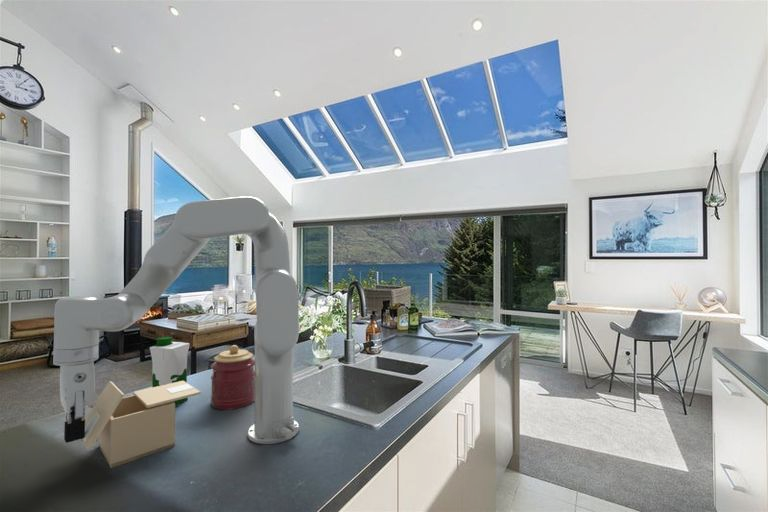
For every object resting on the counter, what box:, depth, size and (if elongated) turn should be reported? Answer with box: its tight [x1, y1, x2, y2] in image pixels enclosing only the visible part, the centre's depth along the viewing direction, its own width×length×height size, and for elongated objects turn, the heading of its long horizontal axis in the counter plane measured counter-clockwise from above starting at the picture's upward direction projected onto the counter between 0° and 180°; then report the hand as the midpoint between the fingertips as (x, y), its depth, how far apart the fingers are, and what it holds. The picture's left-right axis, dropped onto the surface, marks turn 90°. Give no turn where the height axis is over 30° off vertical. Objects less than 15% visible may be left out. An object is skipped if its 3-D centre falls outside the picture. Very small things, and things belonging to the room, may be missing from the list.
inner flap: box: [132, 381, 202, 408], centre depth 92 cm, size 12×12×1 cm
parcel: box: [98, 394, 176, 469], centre depth 87 cm, size 13×12×10 cm
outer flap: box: [81, 380, 125, 452], centre depth 82 cm, size 12×12×1 cm
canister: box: [210, 344, 255, 410], centre depth 114 cm, size 13×13×18 cm
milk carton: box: [149, 336, 191, 407], centre depth 113 cm, size 9×9×20 cm
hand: (74, 439), depth 79 cm, fingers closed
